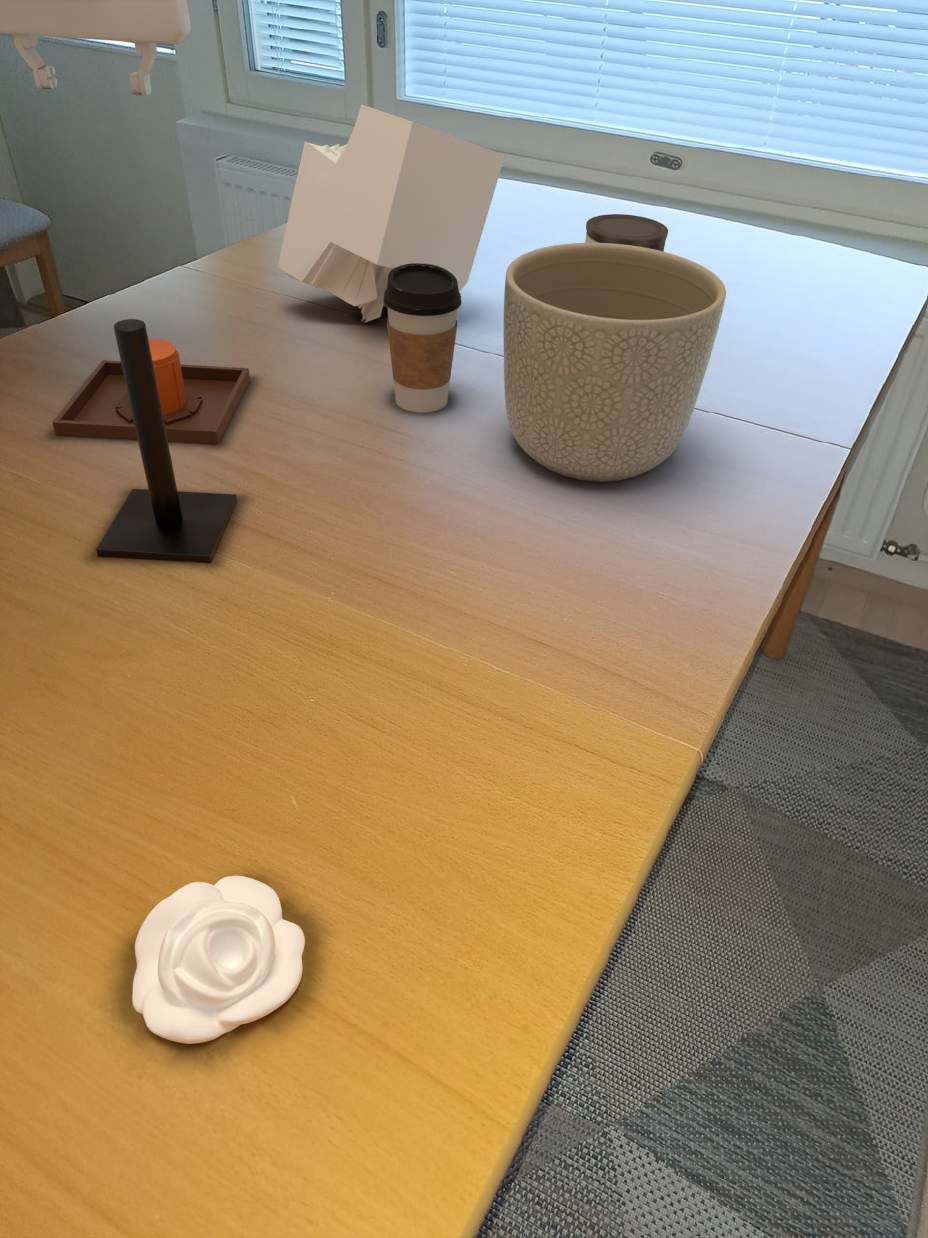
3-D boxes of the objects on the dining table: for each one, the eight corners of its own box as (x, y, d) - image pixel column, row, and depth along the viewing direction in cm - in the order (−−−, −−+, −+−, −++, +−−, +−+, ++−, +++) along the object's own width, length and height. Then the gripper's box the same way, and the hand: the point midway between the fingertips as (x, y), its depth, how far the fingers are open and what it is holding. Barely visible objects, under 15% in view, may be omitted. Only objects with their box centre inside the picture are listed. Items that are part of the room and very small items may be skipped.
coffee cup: (442, 385, 110) (446, 258, 100) (468, 417, 104) (474, 286, 94) (375, 394, 108) (372, 265, 98) (398, 428, 102) (397, 294, 92)
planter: (454, 443, 99) (461, 267, 87) (587, 392, 110) (609, 229, 98) (592, 531, 88) (622, 341, 75) (726, 464, 98) (771, 288, 86)
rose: (164, 836, 54) (323, 863, 53) (177, 879, 57) (328, 906, 56) (81, 996, 46) (265, 1032, 45) (101, 1036, 49) (274, 1071, 48)
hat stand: (99, 563, 81) (40, 347, 68) (135, 501, 88) (88, 297, 76) (212, 569, 81) (174, 355, 68) (238, 507, 88) (209, 303, 75)
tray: (57, 441, 96) (51, 422, 95) (106, 378, 108) (102, 359, 107) (219, 450, 96) (216, 431, 95) (251, 386, 108) (248, 367, 106)
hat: (107, 422, 98) (93, 365, 94) (133, 386, 105) (121, 330, 101) (188, 427, 98) (178, 369, 94) (209, 390, 105) (200, 335, 101)
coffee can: (665, 338, 123) (685, 230, 114) (609, 355, 118) (626, 244, 109) (612, 313, 130) (628, 208, 120) (557, 328, 125) (569, 220, 116)
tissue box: (267, 289, 124) (308, 86, 113) (358, 303, 135) (403, 120, 125) (356, 340, 113) (411, 121, 102) (447, 351, 124) (505, 154, 113)
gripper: (187, -80, 84) (207, 91, 93) (-34, -94, 84) (8, 78, 93) (166, -76, 79) (189, 104, 88) (-68, -90, 79) (-21, 90, 88)
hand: (94, 90), depth 91 cm, fingers open, 8 cm apart
